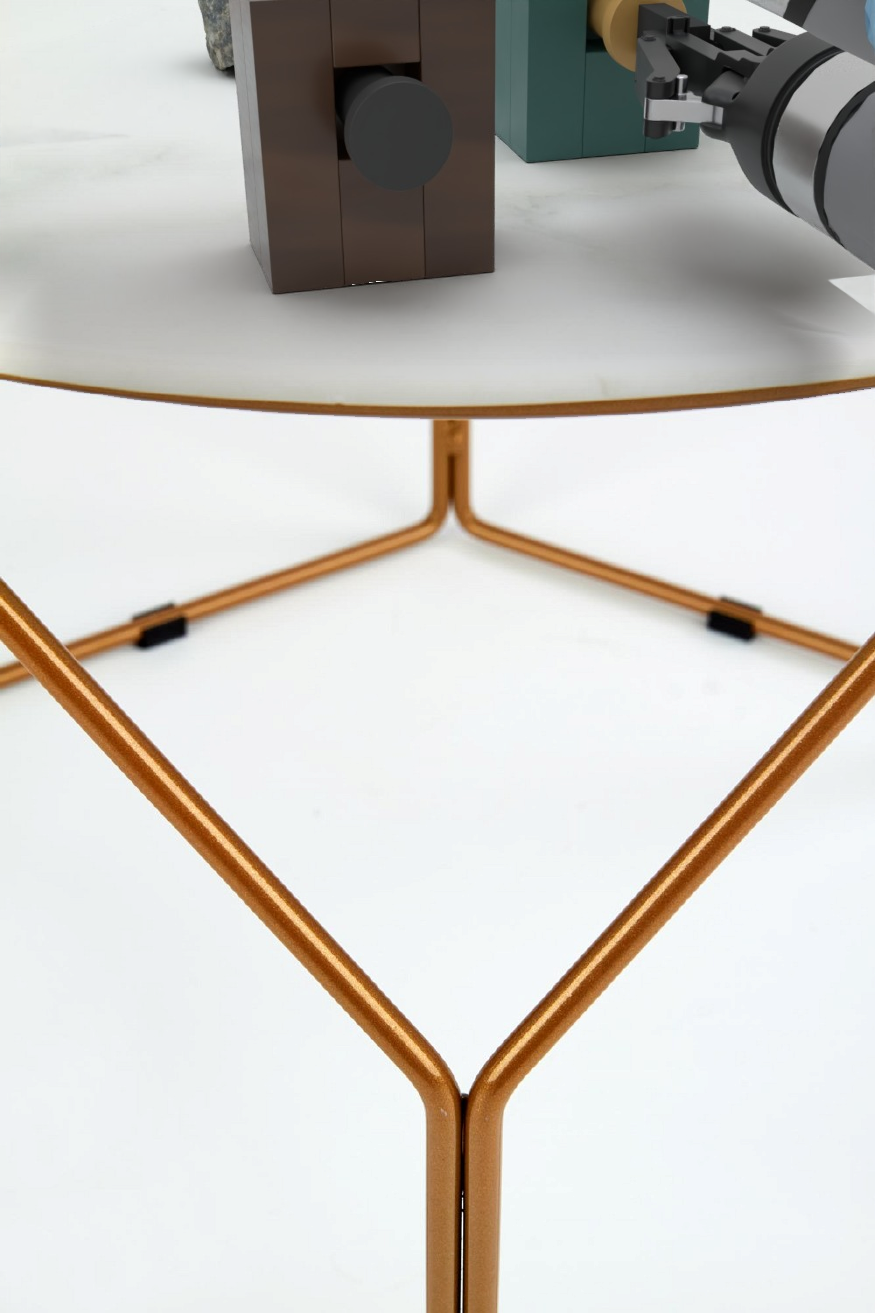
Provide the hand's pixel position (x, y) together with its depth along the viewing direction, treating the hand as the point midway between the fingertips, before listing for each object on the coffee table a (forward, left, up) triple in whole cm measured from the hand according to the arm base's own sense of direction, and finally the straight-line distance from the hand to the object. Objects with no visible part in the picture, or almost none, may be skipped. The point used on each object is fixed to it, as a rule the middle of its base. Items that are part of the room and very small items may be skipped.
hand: (650, 29), depth 82 cm
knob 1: (+3, -23, -2) cm, 23 cm away
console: (-8, +5, -8) cm, 12 cm away
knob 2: (-3, +2, -2) cm, 5 cm away
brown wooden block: (-1, -20, -8) cm, 22 cm away
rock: (-38, +4, -8) cm, 39 cm away
